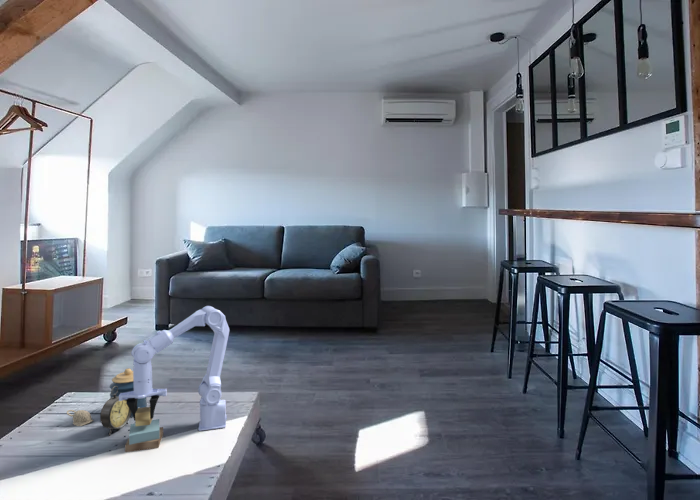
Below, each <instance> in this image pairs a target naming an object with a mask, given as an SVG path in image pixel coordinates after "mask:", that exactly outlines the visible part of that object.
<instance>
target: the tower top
mask: <svg viewBox="0 0 700 500" xmlns="http://www.w3.org/2000/svg"><path fill="white" fill-rule="evenodd" d="M160 427H161V426H160V418H157V419H152V421H151V423H150V425H144V426H136V425H135V422H134V423H130V428H129V433H128V434H129V435H128V438H129V445H131V444H136V443H141V442H146V441H151V440H156V439H160Z"/></svg>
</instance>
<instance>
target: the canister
mask: <svg viewBox="0 0 700 500" xmlns="http://www.w3.org/2000/svg"><path fill="white" fill-rule="evenodd" d="M114 386H117V387H118V392H117V387H114ZM113 387H114V388H113ZM112 388H113V390H112ZM109 389H110V390H112V394H116V392H117V394H116V397H119V395H120V393H126V392H131V391H134V381H133V369H131V368H126V369H125V370H124V371H123V372H120V373H118V374H116V375H115V376H114V377H112V379H111V383H110V384H109ZM112 394H111V392H110V393H109V397H110V398H112V397H114V396H113V395H112ZM110 398H109V399H110ZM144 407H148V402H147V397H145V398H140V399H138V400H137V409H138V408H144ZM130 418H134V417H133V414H132V412H131V416H130Z"/></svg>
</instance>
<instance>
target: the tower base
mask: <svg viewBox="0 0 700 500" xmlns="http://www.w3.org/2000/svg"><path fill="white" fill-rule="evenodd" d="M159 427H160V439H156V440H151V441H146V442H141V443H136V444H131V445H129V437H128V438H127V441H126V443H125V445H124V451H125V453H130V452H131V453H132V452H138V451H146V450H153V449H154V450H155V449H159V447H160V445H161V442H162V439H163V436H164V426H159Z"/></svg>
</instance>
